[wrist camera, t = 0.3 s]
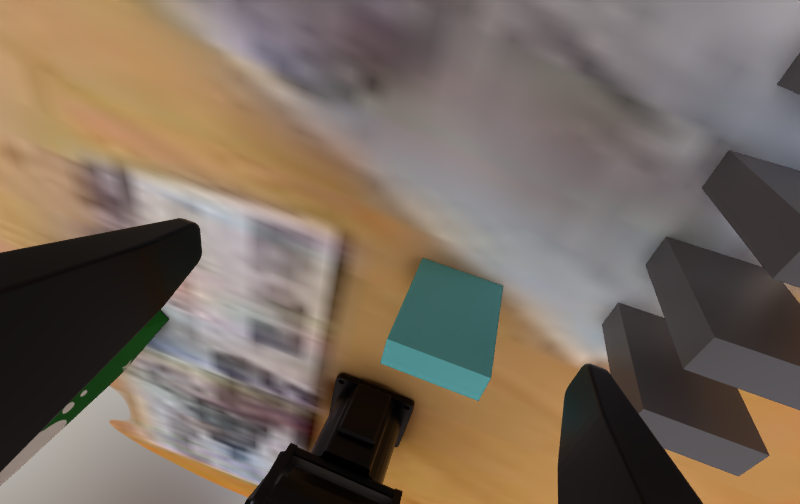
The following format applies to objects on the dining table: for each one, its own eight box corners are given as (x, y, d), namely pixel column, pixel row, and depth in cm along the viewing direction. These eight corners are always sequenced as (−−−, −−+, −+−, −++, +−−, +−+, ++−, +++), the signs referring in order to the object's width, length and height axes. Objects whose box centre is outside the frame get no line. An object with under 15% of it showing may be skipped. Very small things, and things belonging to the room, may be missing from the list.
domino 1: (492, 307, 25) (478, 400, 19) (416, 280, 26) (380, 363, 20) (503, 285, 24) (490, 378, 18) (422, 257, 25) (387, 339, 19)
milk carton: (102, 243, 33) (-322, 495, 17) (183, 324, 36) (-112, 606, 19) (62, 279, 37) (-303, 504, 21) (137, 348, 40) (-134, 593, 24)
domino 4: (690, 355, 23) (738, 476, 17) (602, 324, 24) (620, 431, 18) (711, 334, 22) (769, 455, 16) (618, 302, 22) (643, 409, 17)
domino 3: (746, 298, 20) (824, 419, 15) (645, 264, 21) (683, 368, 15) (773, 270, 19) (867, 389, 14) (666, 236, 20) (714, 337, 14)
